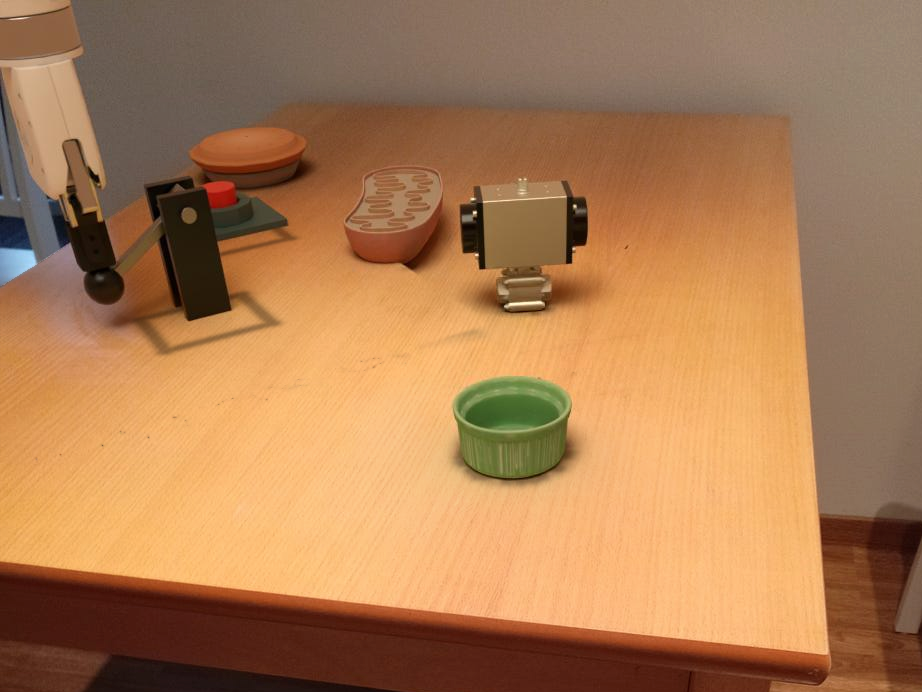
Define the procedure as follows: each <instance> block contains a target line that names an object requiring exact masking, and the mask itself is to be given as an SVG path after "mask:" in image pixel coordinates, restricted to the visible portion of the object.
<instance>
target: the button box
mask: <svg viewBox="0 0 922 692" xmlns="http://www.w3.org/2000/svg"><path fill="white" fill-rule="evenodd" d="M236 196H237V201H238V203H237V204H235V205H233V206H229V207H224V208H213V209H211V213H212V218H213V223H214V228H215V233H216V237H217V242H223V241H227V240H231V239H236V238H240V237H245V236H248V235H254V234H259V233H262V232H266V231H271V230H275V229H279V228H285V227H288V226H289V222H288V218H287V217H285V216H284V215H282V214H281V213H280V212H278V211H277V210H276V209H274V208H273V207H272V206H271V205H269V204H267V203H266V202H265V201H264V200H261V199H260V198H259V197H258V196H252V197H250V196H249V195H247V194H246V193H242V192H237V191H236Z"/></svg>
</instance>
